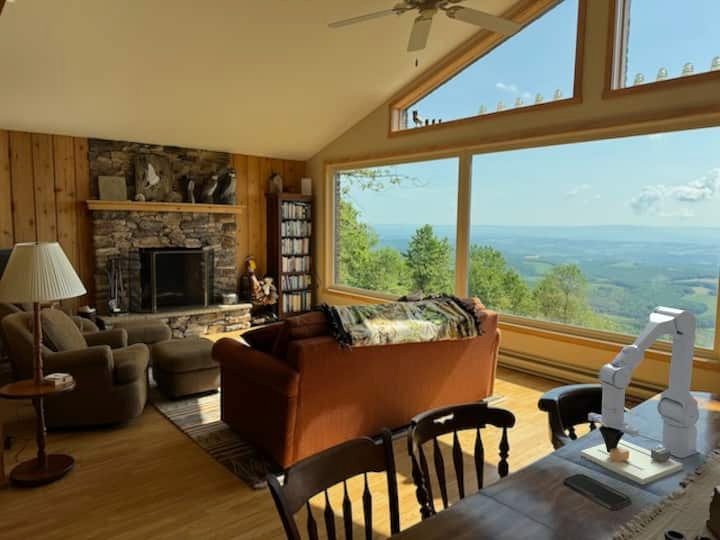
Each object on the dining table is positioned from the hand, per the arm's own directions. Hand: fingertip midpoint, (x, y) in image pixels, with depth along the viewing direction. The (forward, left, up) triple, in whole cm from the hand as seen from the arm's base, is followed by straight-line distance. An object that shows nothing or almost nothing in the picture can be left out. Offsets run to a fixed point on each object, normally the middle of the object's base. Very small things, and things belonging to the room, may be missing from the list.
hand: (611, 452), depth 144 cm
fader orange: (0, +3, -1) cm, 3 cm away
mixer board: (-4, +3, -3) cm, 6 cm away
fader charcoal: (-10, +8, -1) cm, 13 cm away
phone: (+19, +9, -3) cm, 21 cm away
